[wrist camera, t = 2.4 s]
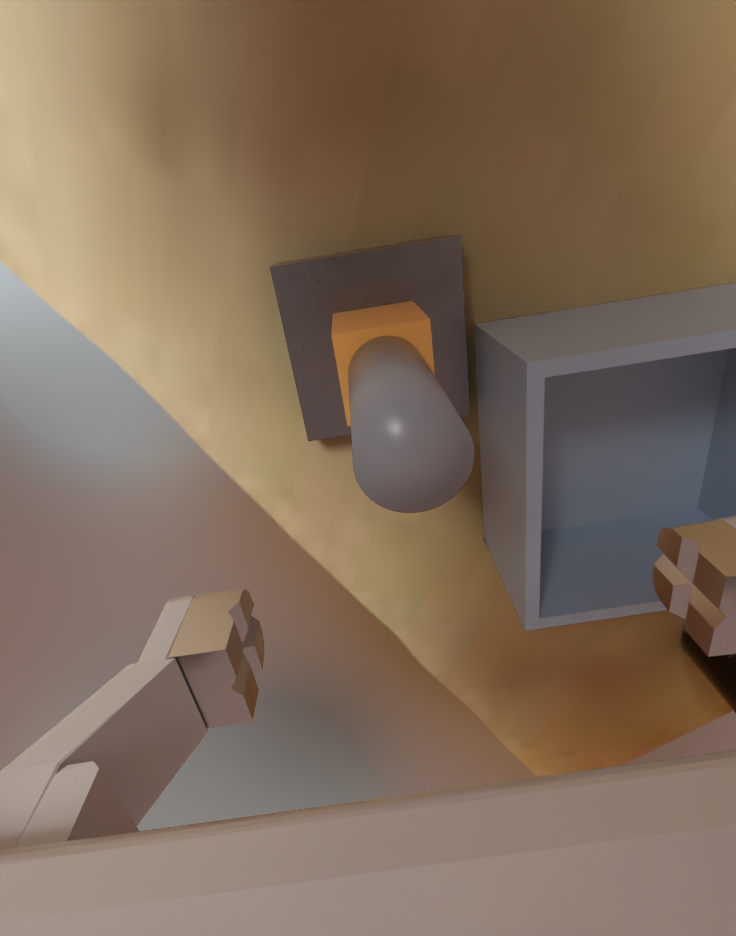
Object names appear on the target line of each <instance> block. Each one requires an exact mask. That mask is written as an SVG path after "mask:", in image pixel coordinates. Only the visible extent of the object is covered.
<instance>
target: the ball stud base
mask: <svg viewBox="0 0 736 936" xmlns="http://www.w3.org/2000/svg"><path fill="white" fill-rule="evenodd" d="M270 270H271V274H272V279H273V283H274V288H275V292H276V297H277V301H278V306H279V310H280V315H281V319H282V324H283V328H284V333H285V337H286V342H287V346H288V351H289V355H290V360H291V365H292V369H293V374H294V378H295V383H296V387H297V392H298V396H299V401H300V405H301V410H302V414H303V419H304V423H305V428H306V432H307V437H308V441H313V440H319V439H326V438H332V437H339V436H345V435H351V426H347V420H346V415H345V409H344V404H343V398H342V392H341V387H340V381H339V375H338V370H337V364H336V358H335V353H334V347H333V342H332V336H331V332H332V317H333V314H334V313H340V312H346V311H352V310H359V309H365V308H371V307H377V306H384V305H390V304H396V303H402V302H409V301H413V302H414V303H415V304H416V305H417V306H418V307H419V308H420V309H421V310H422V311H423V312H424V313H425V314H426V315H427V316H428V317H429V318H430V323H431V335H432V347H433V359H434V371H435V378H436V379H437V381H438V382H439V384H440V386H441V387H442V389H443V390H444V392H445V394H446V395H447V397H448V398H449V400H450V402H451V403H452V405H453V406H454V408H455V410H456V411H457V413H458V414H459V416H460V418H461V417H467V416H470V401H469V382H468V362H467V343H466V323H465V304H464V284H463V265H462V245H461V236H457V235H450V236H444V237H438V238H431V239H425V240H419V241H413V242H407V243H401V244H395V245H388V246H382V247H376V248H370V249H364V250H358V251H351V252H345V253H339V254H333V255H327V256H321V257H315V258H308V259H302V260H296V261H290V262H284V263H278V264H274V265H272V266H271V267H270Z"/></svg>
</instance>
